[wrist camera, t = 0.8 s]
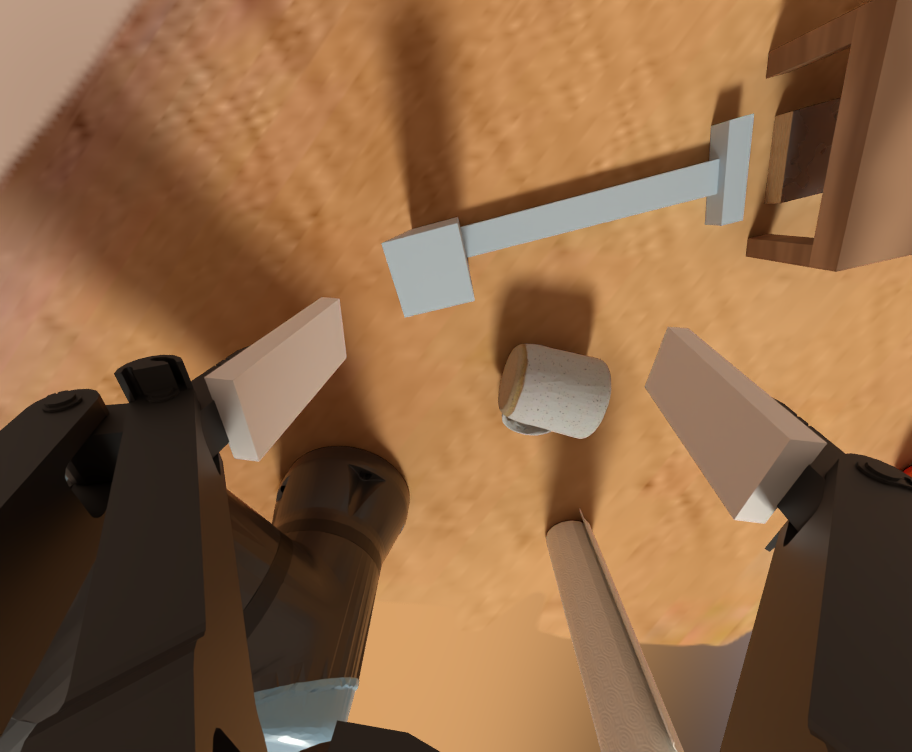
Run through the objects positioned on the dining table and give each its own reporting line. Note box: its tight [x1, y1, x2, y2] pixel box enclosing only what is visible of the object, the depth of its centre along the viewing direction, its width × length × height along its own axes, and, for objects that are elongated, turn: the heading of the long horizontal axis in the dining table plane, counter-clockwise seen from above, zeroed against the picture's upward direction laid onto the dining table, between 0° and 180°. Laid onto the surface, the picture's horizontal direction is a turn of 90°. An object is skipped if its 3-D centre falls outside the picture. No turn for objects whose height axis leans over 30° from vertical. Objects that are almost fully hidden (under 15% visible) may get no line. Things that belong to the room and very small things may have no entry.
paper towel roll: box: [546, 508, 684, 752], centre depth 36 cm, size 7×6×21 cm
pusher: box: [381, 114, 754, 317], centre depth 23 cm, size 26×7×13 cm, turn 104°
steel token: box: [764, 98, 841, 204], centre depth 26 cm, size 6×6×2 cm
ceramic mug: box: [498, 344, 611, 439], centre depth 32 cm, size 11×8×8 cm
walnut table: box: [746, 0, 912, 272], centre depth 23 cm, size 12×14×8 cm
